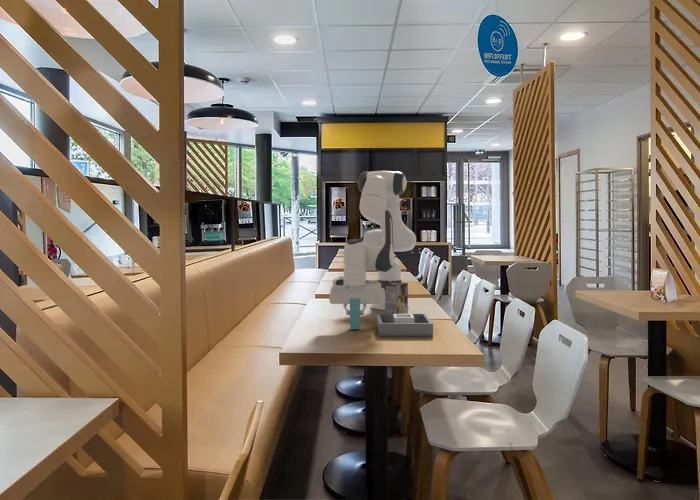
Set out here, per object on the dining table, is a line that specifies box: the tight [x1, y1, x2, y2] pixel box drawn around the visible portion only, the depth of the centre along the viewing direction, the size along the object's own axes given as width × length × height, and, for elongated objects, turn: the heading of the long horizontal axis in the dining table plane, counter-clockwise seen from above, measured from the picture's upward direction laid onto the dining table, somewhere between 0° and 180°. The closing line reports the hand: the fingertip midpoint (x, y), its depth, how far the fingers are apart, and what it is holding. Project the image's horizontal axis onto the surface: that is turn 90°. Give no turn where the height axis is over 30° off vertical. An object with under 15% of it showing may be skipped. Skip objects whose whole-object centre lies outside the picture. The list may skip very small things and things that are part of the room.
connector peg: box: [349, 298, 361, 330], centre depth 195 cm, size 4×4×12 cm
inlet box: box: [376, 313, 434, 338], centre depth 192 cm, size 20×20×6 cm
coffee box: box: [384, 282, 409, 314], centre depth 213 cm, size 9×6×16 cm
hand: (355, 314), depth 195 cm, fingers closed on connector peg, 4 cm apart
